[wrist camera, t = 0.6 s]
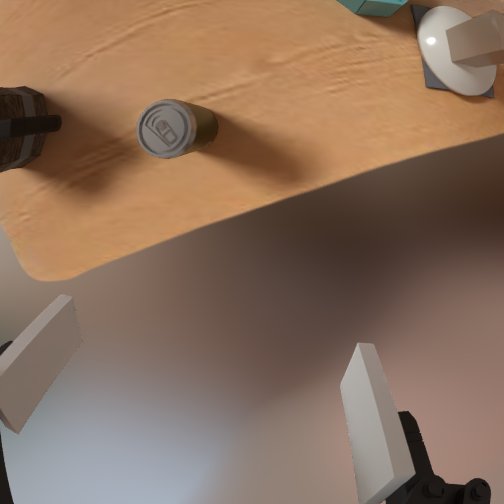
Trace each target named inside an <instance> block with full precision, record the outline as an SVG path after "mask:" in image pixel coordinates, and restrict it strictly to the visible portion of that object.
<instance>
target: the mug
mask: <svg viewBox="0 0 504 504" xmlns="http://www.w3.org/2000/svg"><path fill="white" fill-rule="evenodd" d="M61 124H62V121H61V117H60V116H59V115H49V116H48V114H47V109H46V105H45V100H44V95H43V94H42V93H40V92H37V91H35V90H33V89H30V88H28V87H26V86H22V87H16V88H3V87H0V173H1V172H3V171H7V170H10V169H16V168H22V167H23V166H25V165H26V164H28V163H29V162H31V161H32V160H34V159H35V158H37V157H38V156H40V154H41V150H42V147H43V144H44V140H45V137H46V134H47V132H54V131H58V130H59V129H60V128H61Z"/></svg>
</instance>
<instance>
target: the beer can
mask: <svg viewBox="0 0 504 504" xmlns="http://www.w3.org/2000/svg"><path fill="white" fill-rule="evenodd" d="M136 133H137V138H138V142H139V143H140V145H141V147H142V148H143V149H144V150H145V151H146V152H147V153H148V154H150V155H153V156H155V157H158V158H162V159H170V158H175V157H178V156H182V155H185V154H188V153H191V152H194V151H198V150H201V149H204V148H206V147H207V146H209V145H210V144H211V143H212V142H213V141H214V140H215V138H216V136H217V133H218V123H217V119H216V117H215V115H214V114H213V113H212V112H211V111H210V110H209V109H207V108H204V107H202V106H198V105H194V104H191V103H187V102H183V101H180V100H176V99H164V100H160V101H157V102H155V103H153V104H151V105H150V106H148V107H147V108H146V109H145V110H144V111H143V113H142V114H141V115H140V117H139V120H138V122H137V129H136Z"/></svg>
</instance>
